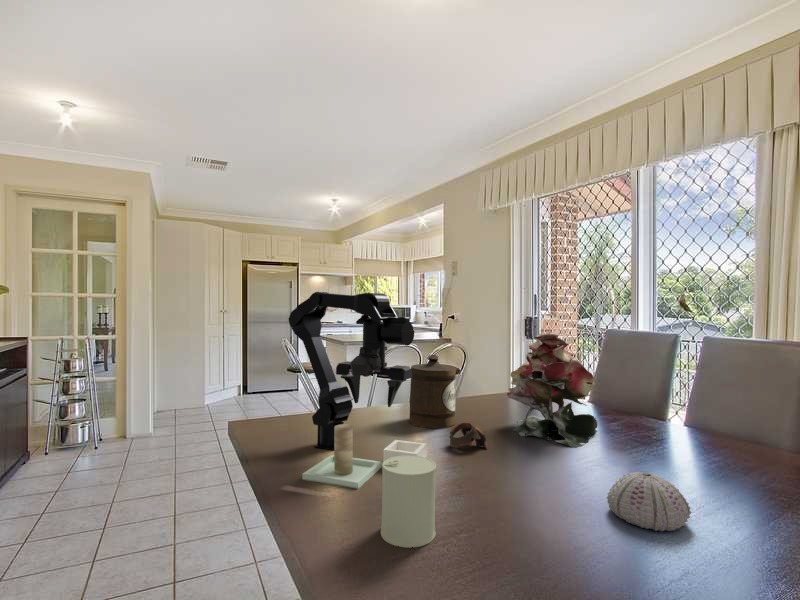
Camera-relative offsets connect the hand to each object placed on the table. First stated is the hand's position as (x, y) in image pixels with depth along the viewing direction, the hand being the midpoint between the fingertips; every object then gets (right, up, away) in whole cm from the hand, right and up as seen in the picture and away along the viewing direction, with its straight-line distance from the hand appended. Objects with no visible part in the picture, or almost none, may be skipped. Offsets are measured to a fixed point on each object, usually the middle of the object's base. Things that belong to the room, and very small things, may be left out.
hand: (372, 404), depth 113 cm
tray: (-6, -13, -14) cm, 19 cm away
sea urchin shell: (+52, -14, -31) cm, 62 cm away
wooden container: (+17, -14, +33) cm, 40 cm away
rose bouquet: (+53, -14, +26) cm, 61 cm away
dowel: (-6, -12, -14) cm, 19 cm away
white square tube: (+8, -13, -8) cm, 17 cm away
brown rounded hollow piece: (+25, -14, +7) cm, 30 cm away
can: (+8, -13, -38) cm, 41 cm away
